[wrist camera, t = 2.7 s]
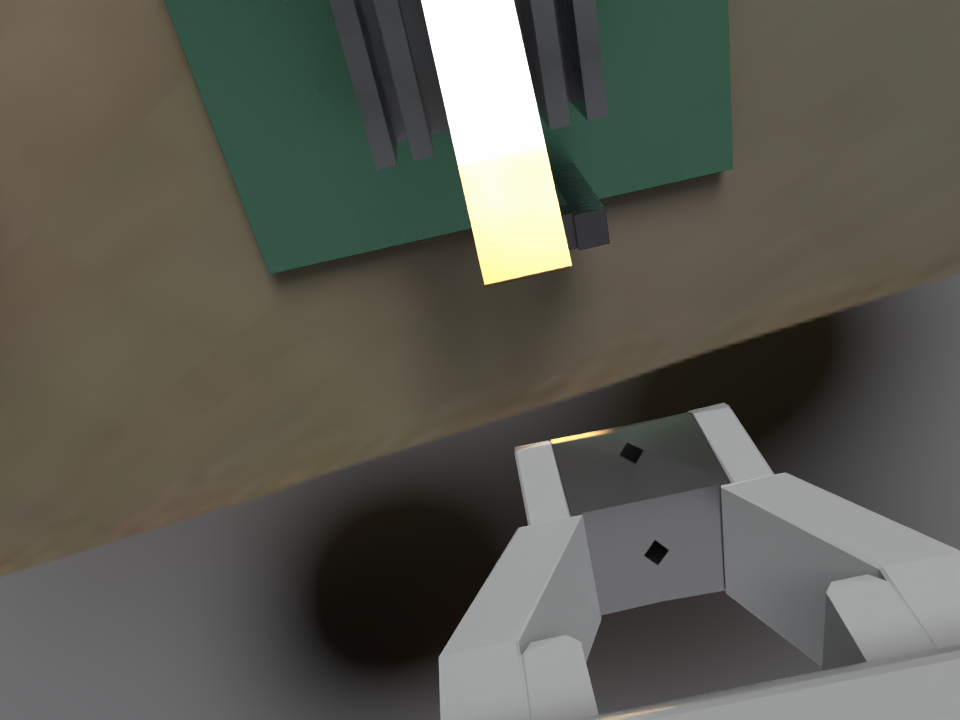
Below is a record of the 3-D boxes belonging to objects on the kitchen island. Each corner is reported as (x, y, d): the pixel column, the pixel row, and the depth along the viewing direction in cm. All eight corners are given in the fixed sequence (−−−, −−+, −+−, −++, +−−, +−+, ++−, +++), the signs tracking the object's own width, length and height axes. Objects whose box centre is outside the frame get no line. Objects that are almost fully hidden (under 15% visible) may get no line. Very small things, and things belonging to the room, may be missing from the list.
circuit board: (273, 263, 30) (244, 344, 24) (82, -243, 21) (-29, -298, 16) (722, 161, 29) (799, 219, 24) (704, -395, 21) (813, -506, 15)
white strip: (474, 290, 20) (472, 286, 18) (358, -228, 20) (348, -272, 18) (579, 267, 20) (585, 261, 18) (464, -254, 19) (462, -300, 18)
